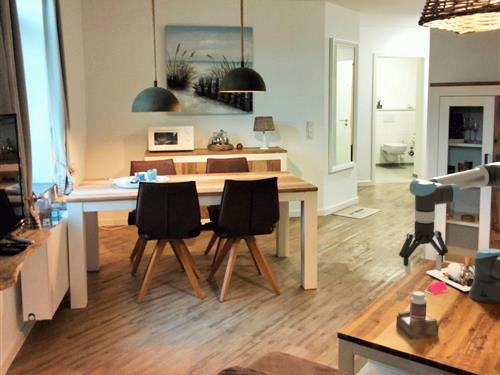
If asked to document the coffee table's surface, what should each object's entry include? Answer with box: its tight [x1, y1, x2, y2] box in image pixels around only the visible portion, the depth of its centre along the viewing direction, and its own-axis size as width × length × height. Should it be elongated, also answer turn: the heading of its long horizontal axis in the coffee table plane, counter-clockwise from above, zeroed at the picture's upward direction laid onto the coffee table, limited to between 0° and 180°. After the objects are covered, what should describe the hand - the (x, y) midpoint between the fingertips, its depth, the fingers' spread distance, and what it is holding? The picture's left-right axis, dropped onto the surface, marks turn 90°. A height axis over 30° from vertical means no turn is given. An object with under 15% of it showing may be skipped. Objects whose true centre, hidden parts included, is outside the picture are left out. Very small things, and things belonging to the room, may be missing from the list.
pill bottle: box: [409, 290, 427, 321], centre depth 217 cm, size 6×6×11 cm
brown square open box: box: [395, 310, 440, 340], centre depth 218 cm, size 12×12×6 cm
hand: (423, 271), depth 217 cm, fingers open, 13 cm apart
